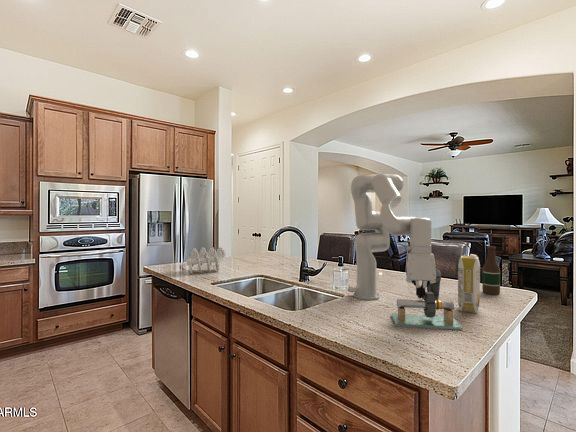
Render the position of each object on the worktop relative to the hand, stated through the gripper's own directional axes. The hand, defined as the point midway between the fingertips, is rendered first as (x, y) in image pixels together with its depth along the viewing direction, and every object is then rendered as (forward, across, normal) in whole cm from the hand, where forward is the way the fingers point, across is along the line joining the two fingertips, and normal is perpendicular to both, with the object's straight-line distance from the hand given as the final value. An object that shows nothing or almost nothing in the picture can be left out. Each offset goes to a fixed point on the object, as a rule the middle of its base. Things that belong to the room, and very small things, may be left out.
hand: (420, 297), depth 123 cm
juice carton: (+10, +23, +19) cm, 32 cm away
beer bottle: (+10, +44, +50) cm, 68 cm away
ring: (+7, +3, 0) cm, 8 cm away
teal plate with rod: (+10, +2, 0) cm, 10 cm away
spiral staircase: (+10, -126, +77) cm, 148 cm away
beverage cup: (+10, +12, +33) cm, 37 cm away
